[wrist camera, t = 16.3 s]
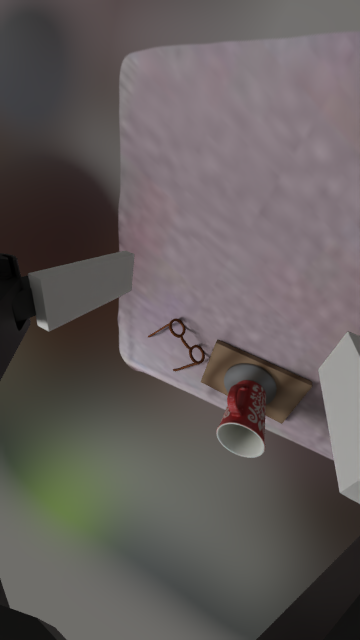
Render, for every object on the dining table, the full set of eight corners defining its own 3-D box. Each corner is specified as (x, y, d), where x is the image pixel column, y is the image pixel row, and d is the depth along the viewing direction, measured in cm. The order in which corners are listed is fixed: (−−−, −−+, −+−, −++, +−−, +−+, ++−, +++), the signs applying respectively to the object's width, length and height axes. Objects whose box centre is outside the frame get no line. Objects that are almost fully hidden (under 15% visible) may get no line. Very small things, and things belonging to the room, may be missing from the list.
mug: (273, 408, 50) (269, 463, 39) (236, 405, 55) (222, 453, 44) (264, 363, 46) (255, 410, 35) (224, 364, 51) (206, 405, 40)
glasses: (207, 355, 56) (201, 366, 52) (174, 369, 63) (166, 380, 59) (178, 314, 54) (169, 323, 50) (147, 335, 62) (137, 343, 58)
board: (311, 381, 46) (312, 389, 44) (282, 418, 53) (281, 427, 51) (217, 339, 52) (214, 344, 50) (202, 378, 59) (199, 384, 57)
